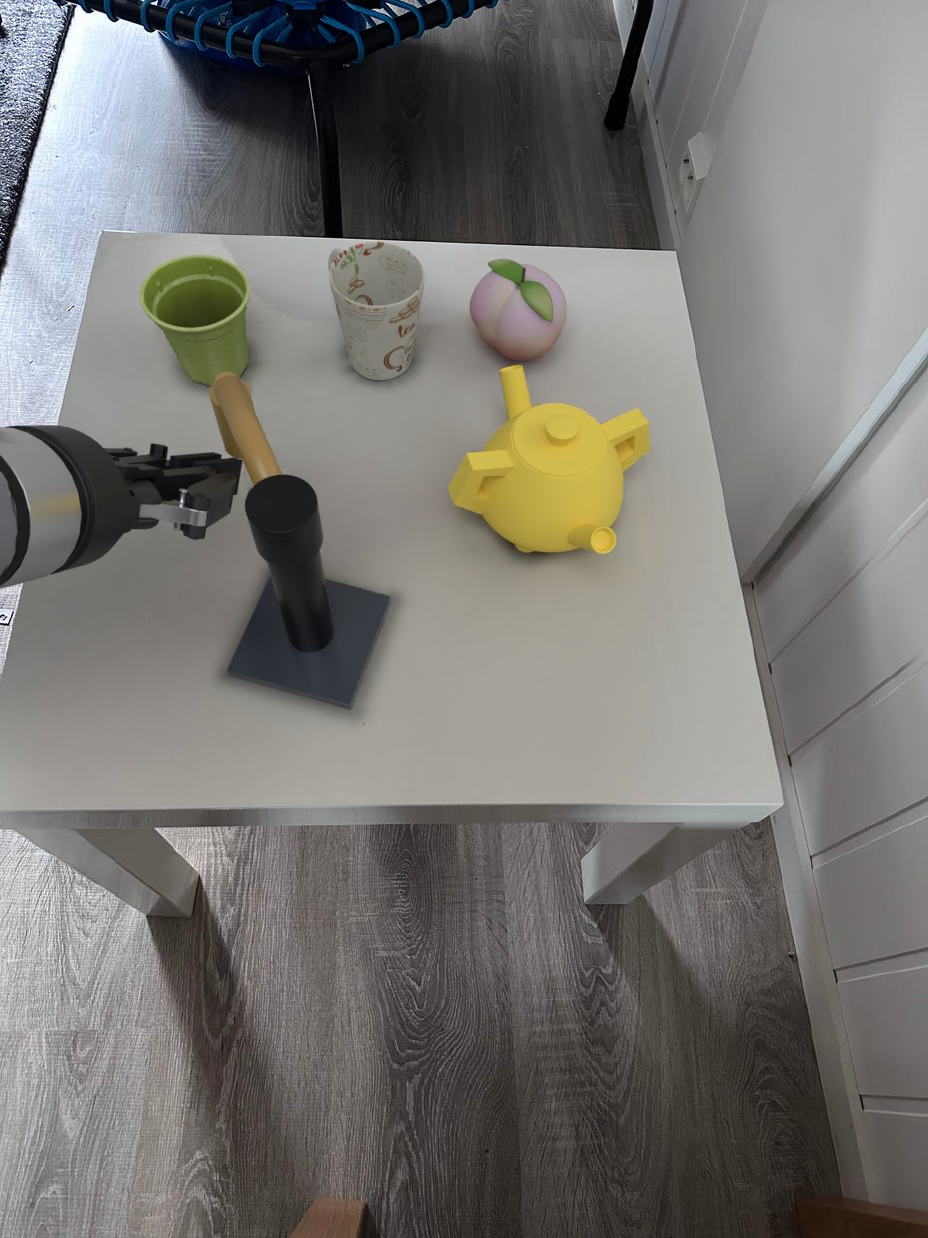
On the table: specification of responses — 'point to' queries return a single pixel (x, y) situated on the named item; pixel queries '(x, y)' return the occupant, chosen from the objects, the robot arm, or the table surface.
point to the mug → (377, 305)
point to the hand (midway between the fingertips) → (224, 473)
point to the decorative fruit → (518, 309)
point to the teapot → (551, 472)
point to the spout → (266, 481)
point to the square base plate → (310, 635)
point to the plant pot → (200, 313)
